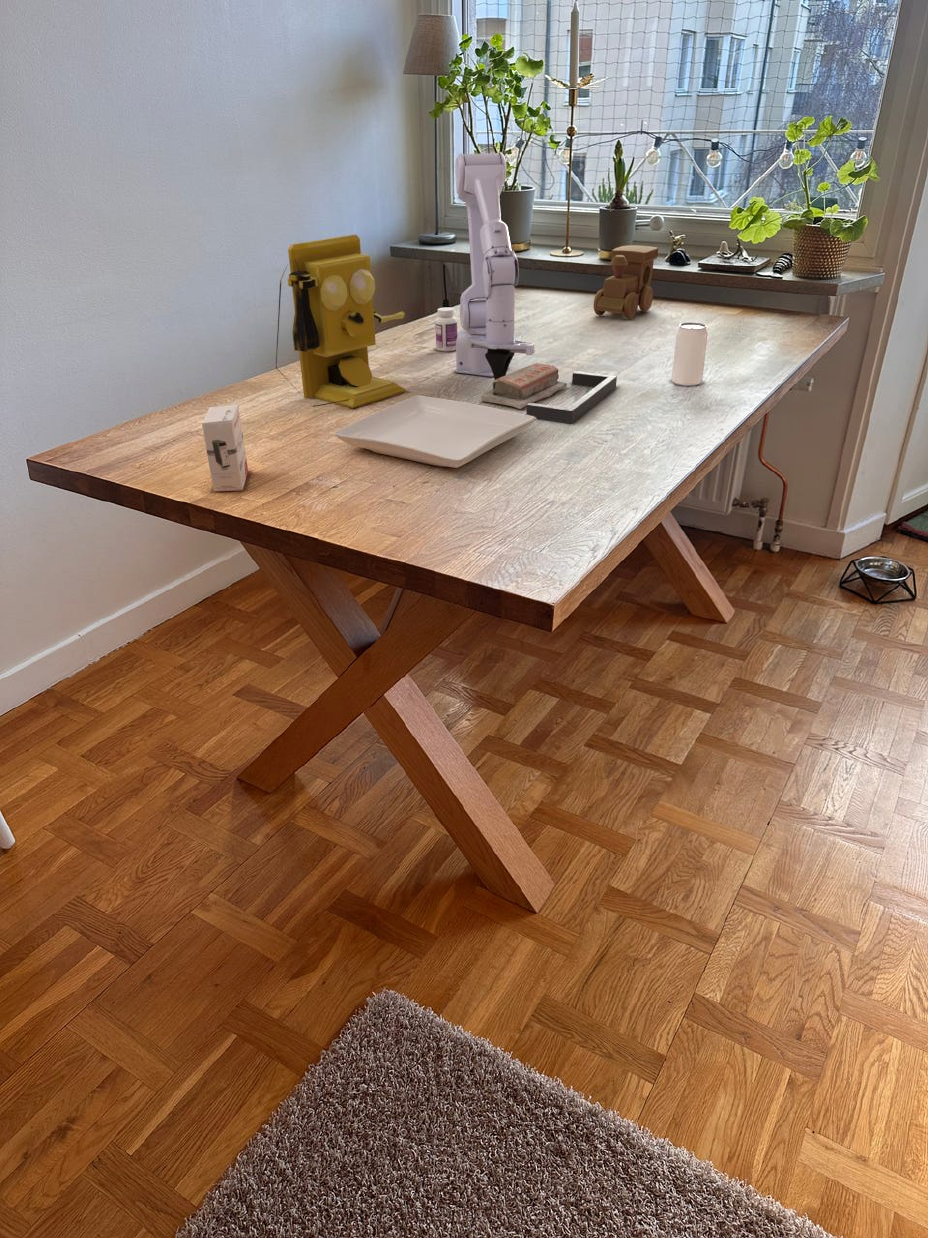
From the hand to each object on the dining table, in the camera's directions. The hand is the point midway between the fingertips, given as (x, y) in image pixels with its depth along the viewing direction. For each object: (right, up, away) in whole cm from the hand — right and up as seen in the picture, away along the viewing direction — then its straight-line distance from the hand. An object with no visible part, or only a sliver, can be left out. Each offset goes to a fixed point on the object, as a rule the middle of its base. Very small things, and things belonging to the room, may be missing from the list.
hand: (499, 385), depth 189 cm
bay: (+14, -5, -6) cm, 16 cm away
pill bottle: (-12, +17, +32) cm, 38 cm away
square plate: (-13, -17, -25) cm, 33 cm away
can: (+41, +2, +5) cm, 41 cm away
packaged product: (+5, -3, -1) cm, 6 cm away
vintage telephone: (-31, -2, 0) cm, 31 cm away
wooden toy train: (+37, +37, +63) cm, 82 cm away
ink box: (-46, -27, -40) cm, 67 cm away
